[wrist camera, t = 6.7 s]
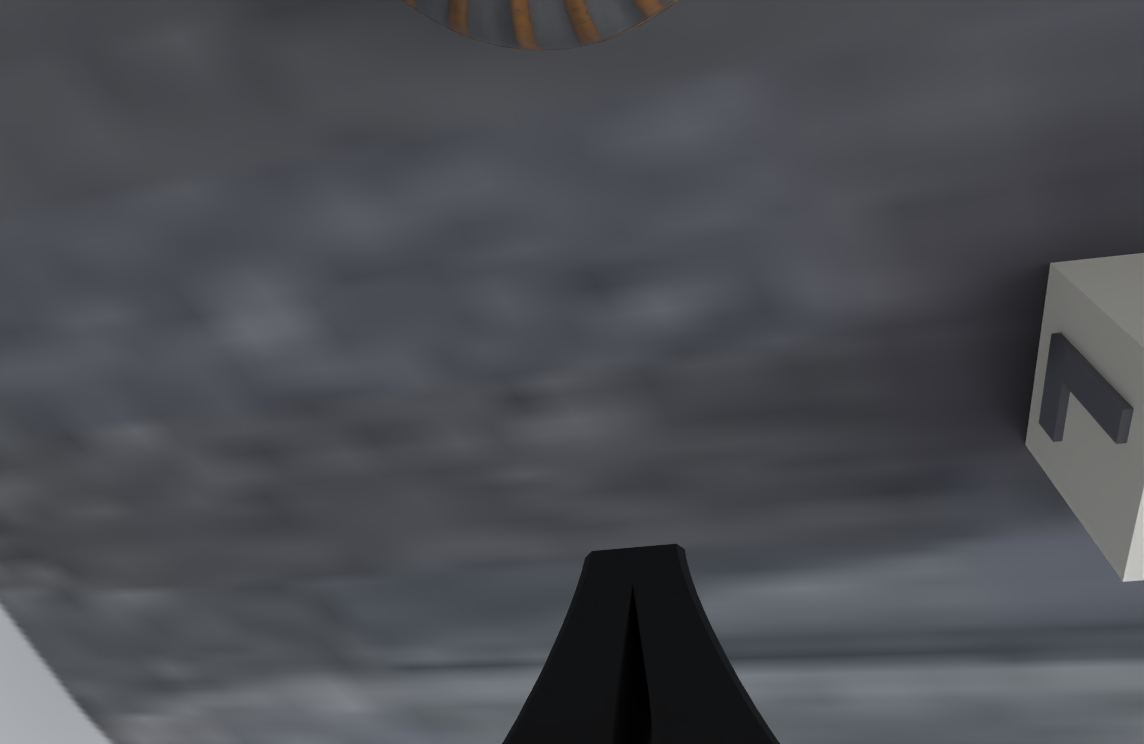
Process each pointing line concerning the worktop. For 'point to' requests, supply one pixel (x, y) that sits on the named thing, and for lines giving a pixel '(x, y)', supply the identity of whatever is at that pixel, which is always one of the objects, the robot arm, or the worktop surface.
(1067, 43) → the worktop surface
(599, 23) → the vase
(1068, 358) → the letter cube
